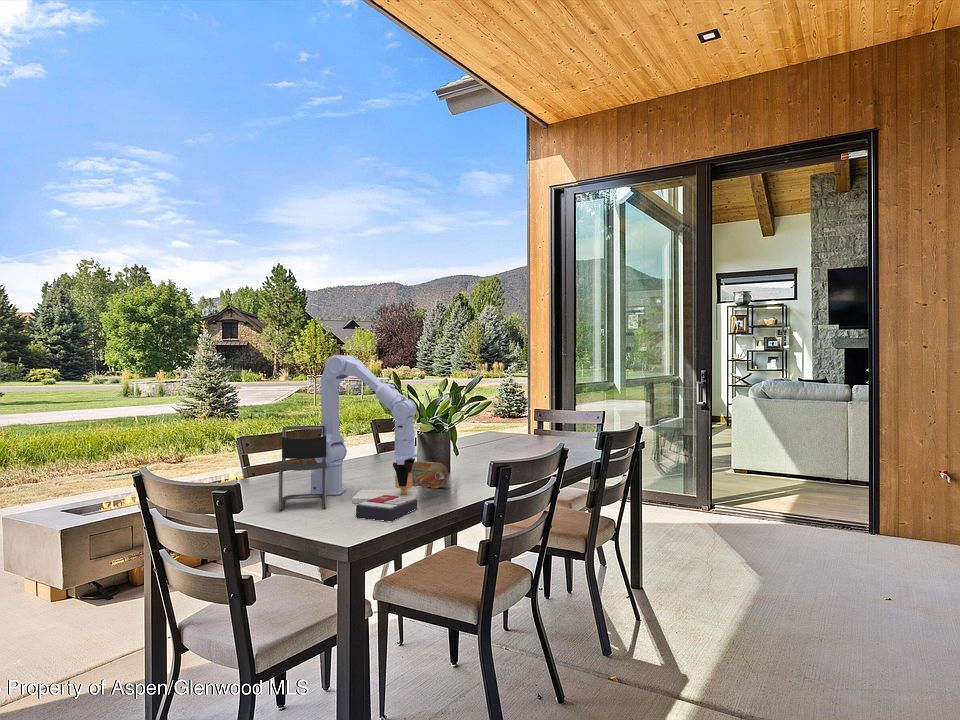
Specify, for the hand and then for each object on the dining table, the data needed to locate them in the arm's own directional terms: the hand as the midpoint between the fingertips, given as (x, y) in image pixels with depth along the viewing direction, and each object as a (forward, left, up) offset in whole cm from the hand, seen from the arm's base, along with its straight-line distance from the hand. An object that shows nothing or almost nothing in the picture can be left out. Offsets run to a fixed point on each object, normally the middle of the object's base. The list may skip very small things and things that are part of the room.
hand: (403, 484), depth 183 cm
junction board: (-5, 0, -4) cm, 7 cm away
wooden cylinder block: (0, 0, -1) cm, 1 cm away
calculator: (-2, -16, -5) cm, 17 cm away
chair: (-28, -7, -5) cm, 30 cm away
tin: (+6, +18, -5) cm, 19 cm away
